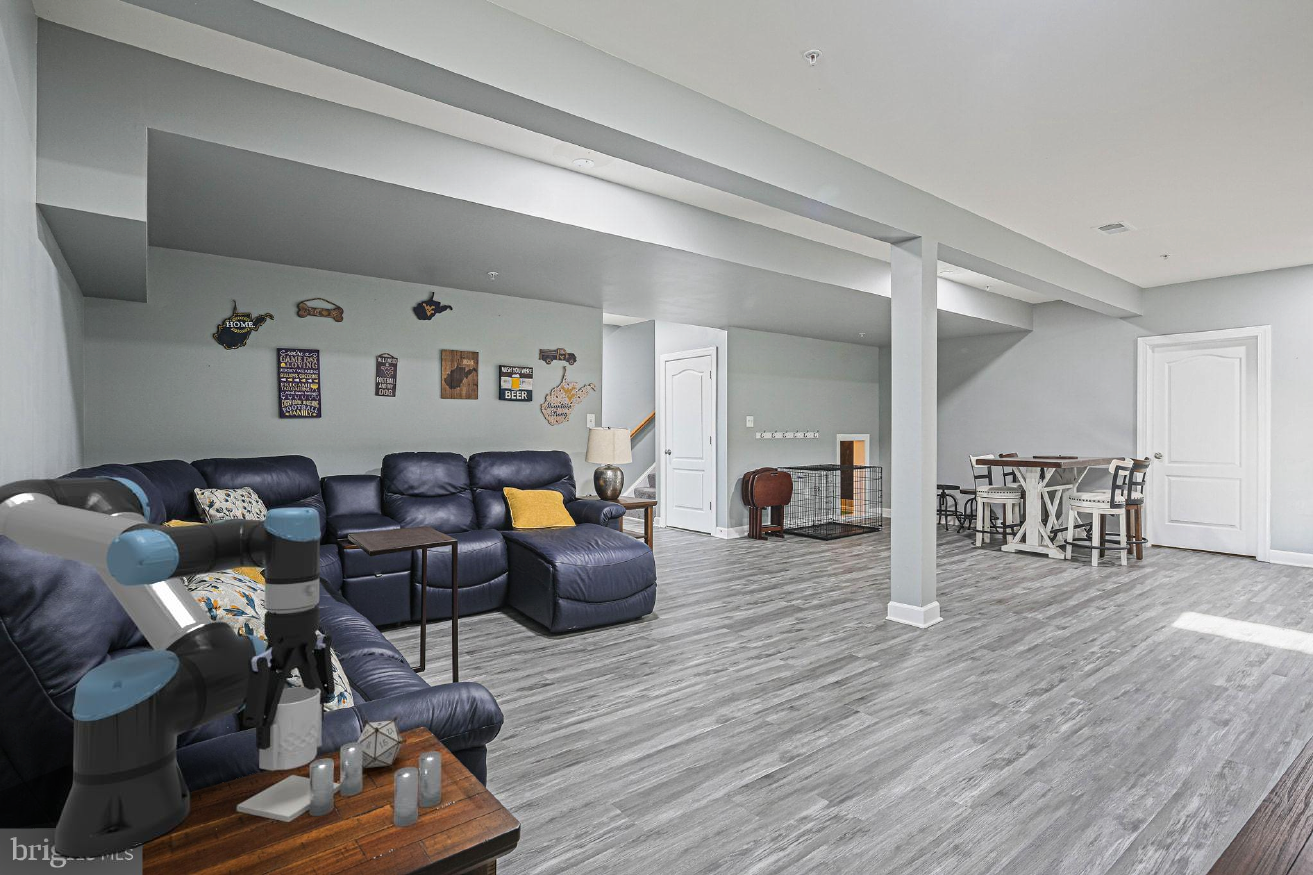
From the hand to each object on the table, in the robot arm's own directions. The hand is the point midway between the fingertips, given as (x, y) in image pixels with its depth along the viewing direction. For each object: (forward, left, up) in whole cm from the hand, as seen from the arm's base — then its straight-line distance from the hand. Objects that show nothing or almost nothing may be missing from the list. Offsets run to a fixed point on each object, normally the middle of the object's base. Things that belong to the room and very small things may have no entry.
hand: (291, 755), depth 103 cm
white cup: (0, 0, -1) cm, 1 cm away
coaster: (0, 0, -7) cm, 7 cm away
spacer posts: (+14, +3, -7) cm, 16 cm away
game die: (+5, +13, -7) cm, 16 cm away
